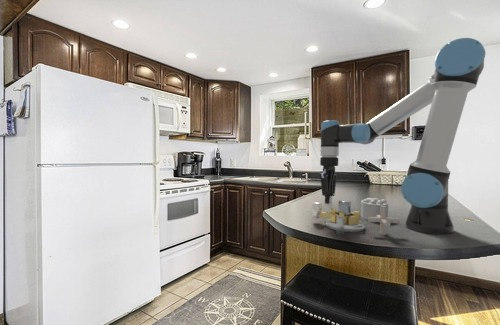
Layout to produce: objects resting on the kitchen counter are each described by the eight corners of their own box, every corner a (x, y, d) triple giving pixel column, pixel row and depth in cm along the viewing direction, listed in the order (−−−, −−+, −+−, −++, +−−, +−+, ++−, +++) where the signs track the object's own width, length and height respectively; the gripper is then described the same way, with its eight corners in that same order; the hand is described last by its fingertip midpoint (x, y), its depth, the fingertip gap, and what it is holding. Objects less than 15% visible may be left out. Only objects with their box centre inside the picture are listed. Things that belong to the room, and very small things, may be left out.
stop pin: (343, 233, 92) (343, 216, 92) (343, 235, 90) (343, 218, 89) (336, 232, 93) (336, 216, 93) (336, 234, 90) (336, 217, 90)
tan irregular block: (361, 220, 102) (361, 205, 102) (356, 226, 93) (356, 209, 93) (317, 214, 112) (317, 200, 112) (308, 219, 103) (308, 204, 103)
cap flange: (363, 224, 105) (363, 200, 104) (364, 233, 92) (364, 205, 91) (327, 221, 110) (328, 197, 110) (324, 229, 97) (324, 203, 97)
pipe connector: (403, 239, 85) (404, 209, 85) (371, 237, 87) (371, 208, 87) (393, 231, 95) (393, 204, 95) (364, 229, 97) (364, 203, 97)
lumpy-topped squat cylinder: (382, 215, 121) (382, 197, 121) (392, 222, 108) (392, 202, 108) (359, 214, 123) (359, 196, 123) (366, 221, 110) (366, 201, 110)
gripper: (327, 156, 118) (326, 207, 119) (314, 156, 109) (313, 211, 109) (343, 157, 113) (342, 209, 114) (330, 156, 104) (329, 214, 104)
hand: (328, 210), depth 112 cm, fingers closed
